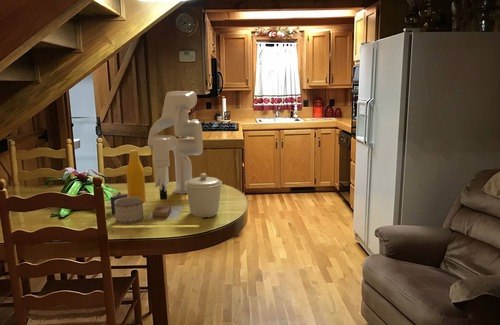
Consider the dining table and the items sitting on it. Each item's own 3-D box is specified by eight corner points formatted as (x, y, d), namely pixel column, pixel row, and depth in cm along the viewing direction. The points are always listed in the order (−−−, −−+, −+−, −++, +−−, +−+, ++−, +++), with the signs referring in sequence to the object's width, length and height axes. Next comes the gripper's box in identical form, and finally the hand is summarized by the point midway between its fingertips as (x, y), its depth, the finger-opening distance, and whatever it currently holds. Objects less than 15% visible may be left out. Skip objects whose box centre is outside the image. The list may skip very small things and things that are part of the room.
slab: (157, 205, 201) (152, 212, 191) (171, 205, 201) (167, 212, 191) (157, 211, 201) (152, 218, 192) (171, 211, 201) (167, 218, 192)
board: (157, 207, 211) (157, 205, 211) (183, 207, 211) (183, 205, 211) (147, 220, 192) (147, 218, 191) (176, 220, 191) (176, 218, 191)
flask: (127, 209, 209) (125, 189, 207) (130, 210, 207) (128, 190, 205) (110, 214, 202) (109, 193, 200) (113, 215, 200) (112, 194, 198)
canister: (179, 218, 194) (177, 176, 190) (197, 207, 211) (195, 168, 207) (212, 222, 188) (211, 179, 184) (228, 211, 204) (227, 170, 200)
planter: (144, 224, 186) (142, 203, 184) (115, 227, 183) (113, 205, 181) (143, 216, 198) (142, 195, 196) (116, 218, 195) (114, 198, 193)
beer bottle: (128, 201, 223) (124, 149, 217) (145, 199, 226) (142, 148, 220) (128, 206, 214) (124, 152, 209) (146, 204, 217) (143, 151, 211)
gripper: (157, 160, 203) (159, 195, 207) (150, 166, 189) (152, 203, 192) (172, 160, 203) (174, 195, 207) (166, 166, 189) (168, 203, 192)
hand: (163, 199), depth 200 cm, fingers closed
